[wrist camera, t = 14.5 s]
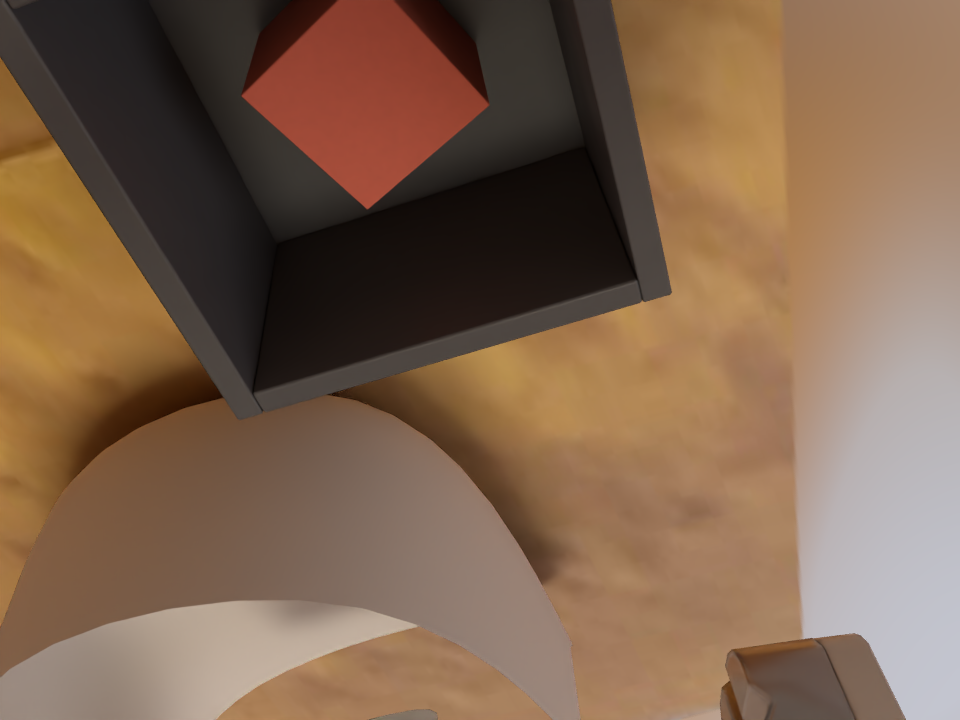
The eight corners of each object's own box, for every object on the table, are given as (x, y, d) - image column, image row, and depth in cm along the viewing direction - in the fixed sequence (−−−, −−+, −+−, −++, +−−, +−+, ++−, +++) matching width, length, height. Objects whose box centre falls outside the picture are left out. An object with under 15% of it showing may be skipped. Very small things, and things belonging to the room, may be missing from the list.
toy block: (368, -78, 26) (366, -29, 22) (476, 43, 28) (490, 105, 24) (258, 34, 27) (239, 96, 24) (369, 139, 30) (367, 210, 26)
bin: (509, -279, 24) (560, -240, 17) (610, 151, 31) (672, 294, 25) (66, -111, 25) (-49, -15, 18) (267, 258, 33) (237, 422, 26)
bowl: (420, 278, 34) (436, 523, 25) (565, 578, 46) (612, 819, 36) (-46, 440, 37) (-187, 713, 28) (203, 683, 49) (162, 931, 39)
